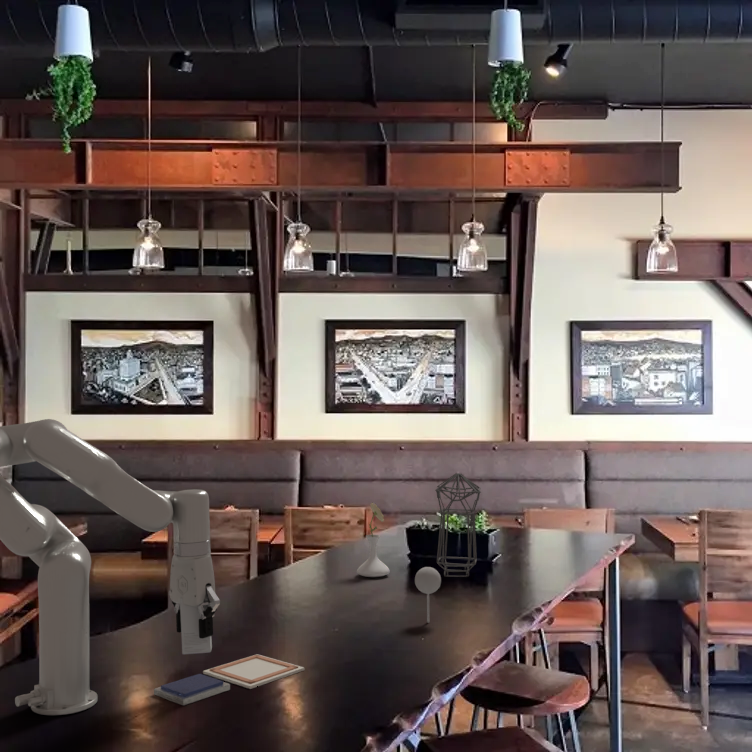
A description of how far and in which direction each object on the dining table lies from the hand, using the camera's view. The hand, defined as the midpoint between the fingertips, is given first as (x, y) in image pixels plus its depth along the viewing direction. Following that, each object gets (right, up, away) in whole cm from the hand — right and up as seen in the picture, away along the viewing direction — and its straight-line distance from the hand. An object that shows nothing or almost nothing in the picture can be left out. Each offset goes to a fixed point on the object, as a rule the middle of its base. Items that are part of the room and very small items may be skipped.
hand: (194, 633), depth 180 cm
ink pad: (0, -12, 0) cm, 12 cm away
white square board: (+11, -12, +12) cm, 21 cm away
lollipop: (+52, -13, +53) cm, 76 cm away
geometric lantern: (+67, -15, +116) cm, 135 cm away
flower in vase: (+37, -15, +115) cm, 122 cm away
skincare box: (0, -4, 0) cm, 4 cm away
